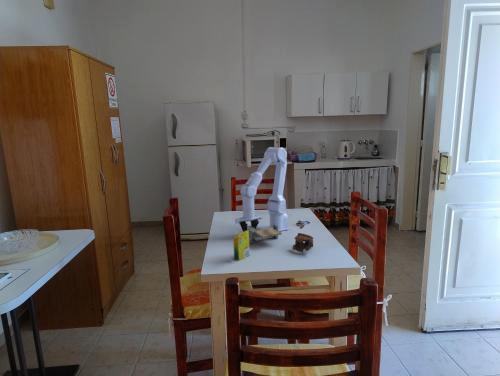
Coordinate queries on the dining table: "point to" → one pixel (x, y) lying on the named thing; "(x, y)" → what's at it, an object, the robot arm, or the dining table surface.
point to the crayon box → (241, 245)
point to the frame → (261, 237)
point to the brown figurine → (303, 245)
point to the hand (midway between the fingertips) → (249, 234)
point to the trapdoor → (264, 232)
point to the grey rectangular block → (250, 228)
